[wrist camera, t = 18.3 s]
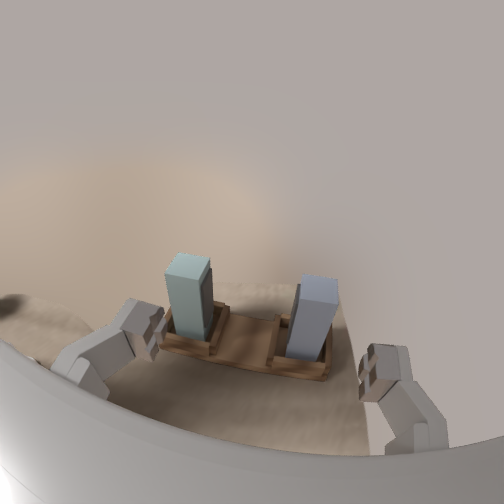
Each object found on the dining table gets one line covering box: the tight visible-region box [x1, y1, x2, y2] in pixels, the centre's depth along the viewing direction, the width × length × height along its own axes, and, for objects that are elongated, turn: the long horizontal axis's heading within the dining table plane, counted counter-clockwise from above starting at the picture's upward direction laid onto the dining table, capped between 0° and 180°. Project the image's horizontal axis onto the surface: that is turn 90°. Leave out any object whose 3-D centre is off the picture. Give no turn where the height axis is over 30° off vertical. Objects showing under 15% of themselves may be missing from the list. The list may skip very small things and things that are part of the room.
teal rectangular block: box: [165, 252, 214, 342], centre depth 44 cm, size 5×5×14 cm
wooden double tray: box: [159, 301, 332, 382], centre depth 46 cm, size 28×10×4 cm, turn 79°
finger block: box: [285, 274, 339, 362], centre depth 41 cm, size 5×5×14 cm
